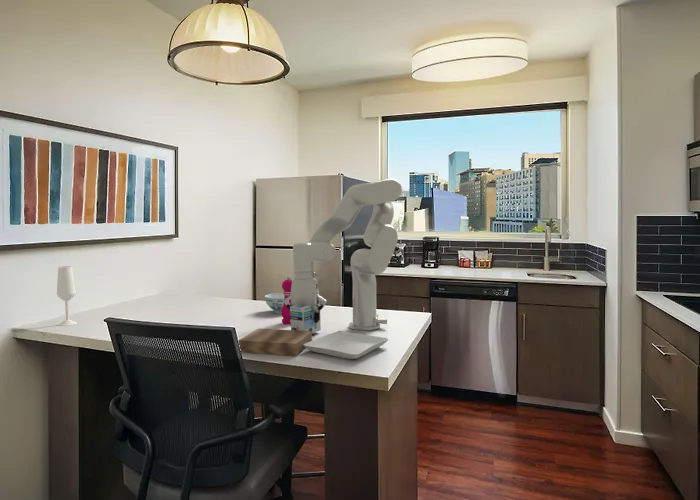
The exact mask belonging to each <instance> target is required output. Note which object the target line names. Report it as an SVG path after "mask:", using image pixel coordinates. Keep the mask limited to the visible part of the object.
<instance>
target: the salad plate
mask: <svg viewBox="0 0 700 500" xmlns="http://www.w3.org/2000/svg"><path fill="white" fill-rule="evenodd" d="M388 341H389V338H388V337H381V336H377V335H376V336H375V335H369V334H363V333H356V332H348V331H341V330H339V331H334V332H331V333H329V334H326V335H323V336H320V337H318V338H315V339H312V341H310V342H308V343H305V344H303V345H304V347H305V349H307V350H309V351H310V352H313V353H317V354H322V355H326V356H332V357H336V358H341V359H342V358H343V359H348V360H355V359H359V358H360V357H361V358H362V356H365V355H368V353H370V352H373V351H374V350H376V349H378V348H381V346H383V345H385V344H386V343H387V342H388Z"/></svg>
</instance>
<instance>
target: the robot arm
mask: <svg viewBox="0 0 700 500" xmlns="http://www.w3.org/2000/svg"><path fill="white" fill-rule="evenodd" d="M402 187H403V186H402V185H401V183H400V181H398V180H397V179H395V178H388V179H379V180H375V181H373V182H368V183H367V182H366V183H360V184H355V185H354V184H353V185H351V186H350V187H349V188H348V189H346V190H347V191H346V192H345V193H344V195H343V196H342V198H341V200H339V203H338V204H337V206H336V207H335V209H334V211H333V212H332V214H331V215H330V216H329V217H328V218H327V219H326V220H325V221H324V222H322V224H320V226H319V227H318V228H317V229H316V231H314V233H313V235H312V237H311V238H310V240H309V242H296V243H294V244H293V245H292V253H293V254H292V255H293V258H292V259H293V279H291V280H292V287H291V295H290V296H289V297H288V298H286V299H285V300H284V303H285V305H286V306H287V308H288V309H289V310H290V306H293V305H301V306H312V307H313V308H314V310H315V313H314V318H315V323H317V322H318V321H319V320H320V321H321V311H322V309H323V308H324V307H325V306H326V304H327V302H328V301H327V300H326V299H325V298H324V297H323V296H321V295H320V291H319V284H318V279H317V277H318V275H319V273H318V272H316V271H315V265H314V263H315V262H329V261H331V260H332V259H334V257H335V256H336V253H337V252H336V247H335V246H334V244H333V243H331V241H332V240H333V239H334V238H335V237H336V236H337V235H338V234H341V233H343V232H344V231H346V230H348V229H349V228H350V227H351V226H352V225H353V224H354V221H355V219H356V218H357V216H358V215H359V213H360V212H361V210H362V208H363V207H369V206H370V207H371V206H372V207H373V211H372V214H371V216H370V218H369V221H368V224H367V226H366V229H365V231H364V233H363V242H364V244H365V245H366V246H368V247H370V249H369V248H360V249H357V250H355V251H354V252H353V253H352V255H351V257H350V269H351V277H352V321H351V322H349V323H348V327H349V329H352V330H355V331H356V330H357V331H372V330H373V331H374V330H379V329H380V328H381V325H387V324H388V319H387V318H381V317H379V314H377V277H376V276H378V275H381V274H383V273H384V272H385V271H386V270H387V268H388V266H389V264H390V261H391V259H392V257H393V254H394V251H395V249H396V246H397V244H398V241H399V240H398V237H399V236H398V232H397V229H396V228H395V227H394V226H393V225H392V222H393V219H394V215H395V212H394V211H395V210H394V206H393V203H392V202H393V201H396V200H398V199H399V198H400V196H401V194H402V193H403V192H402V191H403V189H402ZM315 277H316V278H315ZM289 300H291V304H292V305H291V304H290V303H289ZM318 303H320V306H319V305H318Z"/></svg>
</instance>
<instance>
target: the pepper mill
mask: <svg viewBox="0 0 700 500" xmlns="http://www.w3.org/2000/svg"><path fill="white" fill-rule="evenodd" d="M292 280H293V279H292V275H288V276H287V277H286V279H285V280H283V281H282V283H281V287H282V288H281V289H282V290H283V291H282V293H283V295H284V300H285V299H286V298H288V297H289V296H290V295H291V287H292ZM289 303H290V304H291V300H289ZM291 305H292V304H291ZM280 316H281V317H282V319H281V322H282V323H281V324H282V325H285V326H291V318H290V310H289V309H288V308H287V306H286V305H285V303H284V304H283V306H282V309H281V313H280Z"/></svg>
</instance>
